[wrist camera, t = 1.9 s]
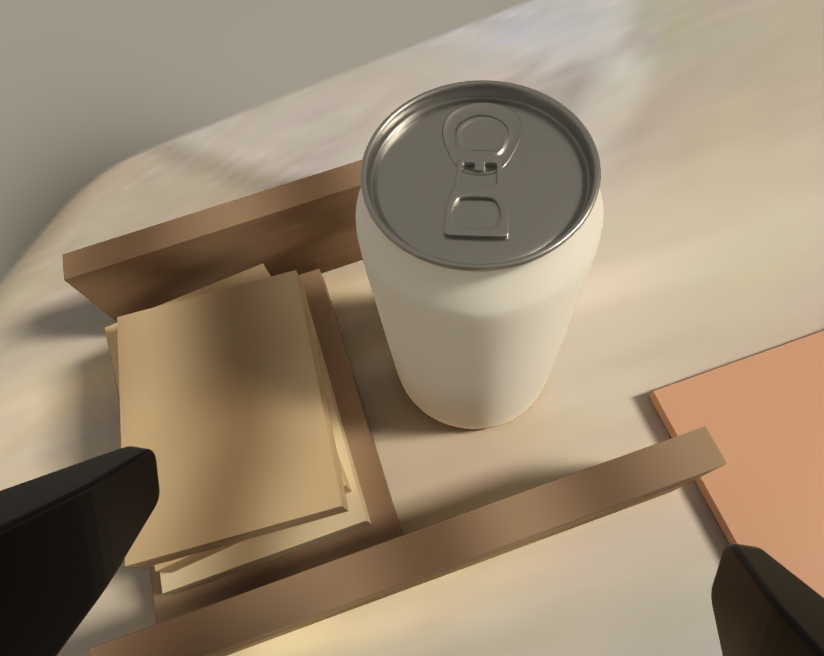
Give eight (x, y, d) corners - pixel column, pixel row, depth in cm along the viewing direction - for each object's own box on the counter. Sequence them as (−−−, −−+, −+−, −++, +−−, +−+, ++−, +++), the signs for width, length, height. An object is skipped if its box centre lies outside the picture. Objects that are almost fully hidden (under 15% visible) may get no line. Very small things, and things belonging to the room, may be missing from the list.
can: (549, 293, 25) (613, 67, 14) (550, 438, 23) (630, 293, 12) (404, 287, 26) (360, 67, 15) (388, 426, 23) (321, 280, 12)
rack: (176, 673, 20) (92, 696, 16) (130, 312, 27) (62, 254, 22) (671, 491, 21) (726, 463, 17) (512, 188, 28) (521, 109, 23)
